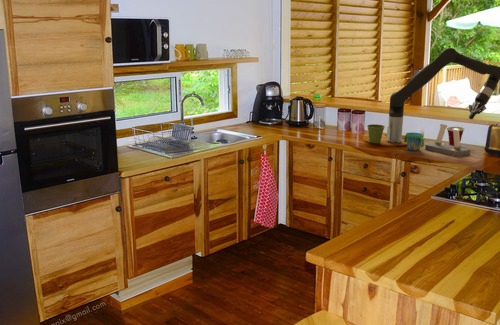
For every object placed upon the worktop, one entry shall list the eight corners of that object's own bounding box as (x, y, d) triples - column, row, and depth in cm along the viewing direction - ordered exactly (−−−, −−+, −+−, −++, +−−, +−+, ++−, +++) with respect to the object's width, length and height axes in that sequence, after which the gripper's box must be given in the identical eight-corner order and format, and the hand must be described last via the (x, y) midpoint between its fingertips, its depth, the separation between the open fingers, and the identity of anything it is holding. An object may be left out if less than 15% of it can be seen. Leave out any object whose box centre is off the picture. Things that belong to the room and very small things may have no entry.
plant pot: (363, 143, 369) (364, 126, 366) (368, 139, 379) (369, 123, 376) (381, 145, 363) (382, 128, 361) (386, 141, 374) (387, 125, 371)
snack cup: (428, 151, 345) (429, 135, 342) (414, 153, 341) (415, 137, 339) (412, 146, 359) (413, 131, 357) (399, 147, 356) (400, 132, 353)
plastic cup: (441, 144, 363) (443, 127, 360) (454, 143, 367) (456, 125, 364) (452, 148, 353) (454, 130, 350) (466, 147, 357) (468, 128, 354)
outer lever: (458, 149, 337) (457, 130, 332) (453, 148, 339) (452, 129, 334) (461, 148, 338) (459, 128, 333) (456, 147, 340) (454, 127, 335)
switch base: (457, 156, 332) (458, 151, 331) (425, 149, 351) (425, 144, 350) (469, 154, 338) (470, 149, 338) (437, 146, 358) (437, 142, 357)
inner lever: (439, 144, 347) (445, 124, 347) (434, 143, 350) (440, 123, 349) (441, 145, 349) (447, 125, 348) (436, 144, 351) (442, 124, 351)
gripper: (472, 91, 348) (458, 114, 346) (489, 92, 336) (475, 115, 334) (479, 98, 351) (465, 121, 349) (496, 99, 339) (482, 122, 337)
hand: (470, 118), depth 342 cm, fingers closed
